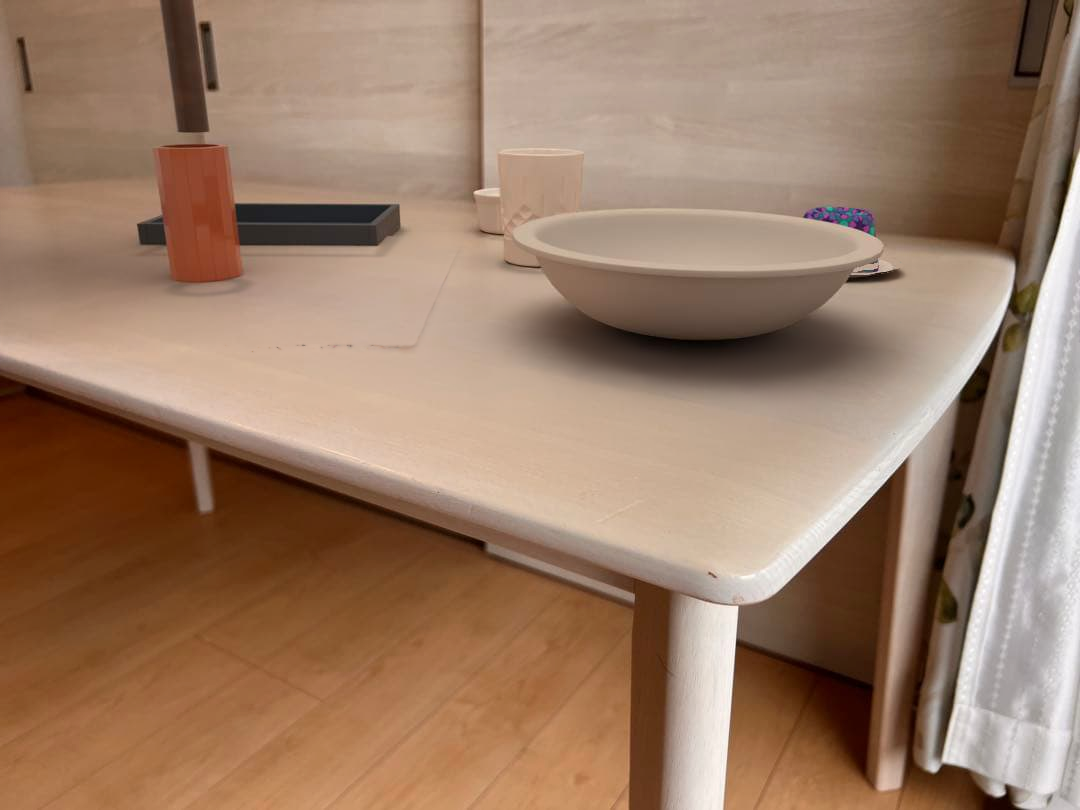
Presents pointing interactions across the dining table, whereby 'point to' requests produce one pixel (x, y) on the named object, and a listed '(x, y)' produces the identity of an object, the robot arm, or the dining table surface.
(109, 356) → the dining table surface
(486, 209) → the ramekin
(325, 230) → the tray
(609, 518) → the dining table surface
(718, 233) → the soup bowl
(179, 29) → the stick
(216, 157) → the crock
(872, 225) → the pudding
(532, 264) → the white cup
